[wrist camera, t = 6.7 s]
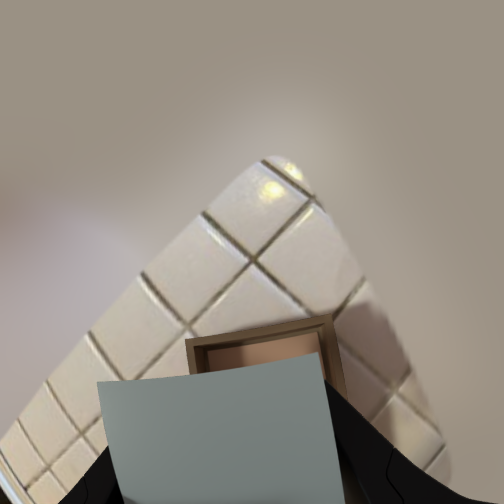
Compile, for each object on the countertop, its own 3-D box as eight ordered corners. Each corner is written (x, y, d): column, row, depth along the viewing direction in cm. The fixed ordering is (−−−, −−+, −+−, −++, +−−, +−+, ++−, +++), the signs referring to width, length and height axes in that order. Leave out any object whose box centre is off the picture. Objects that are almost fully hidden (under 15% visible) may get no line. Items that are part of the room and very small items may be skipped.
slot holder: (356, 529, 15) (364, 546, 12) (239, 547, 15) (233, 565, 12) (324, 319, 21) (331, 313, 18) (197, 342, 22) (184, 339, 19)
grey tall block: (313, 444, 13) (350, 544, 4) (219, 458, 13) (144, 555, 4) (296, 357, 15) (317, 351, 6) (202, 373, 15) (96, 381, 6)
